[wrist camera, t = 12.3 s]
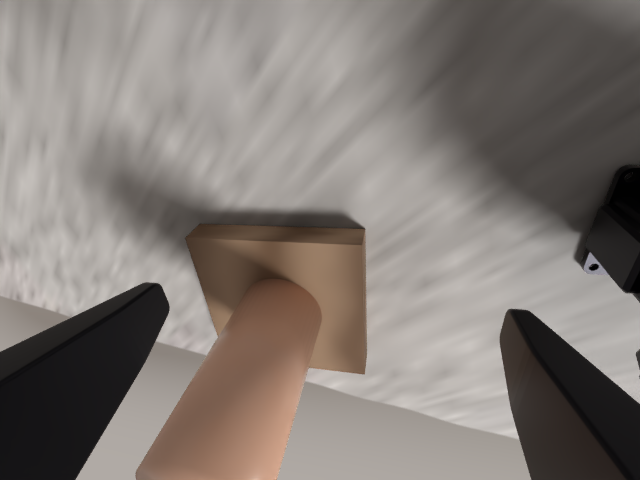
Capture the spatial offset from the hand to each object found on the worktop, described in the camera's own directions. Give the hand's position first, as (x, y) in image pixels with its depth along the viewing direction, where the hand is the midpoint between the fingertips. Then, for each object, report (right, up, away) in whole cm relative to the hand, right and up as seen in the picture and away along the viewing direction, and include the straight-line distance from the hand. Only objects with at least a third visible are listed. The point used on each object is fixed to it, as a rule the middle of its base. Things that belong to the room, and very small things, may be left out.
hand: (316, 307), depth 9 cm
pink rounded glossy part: (-3, -4, +16) cm, 17 cm away
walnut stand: (-2, -2, +18) cm, 18 cm away
